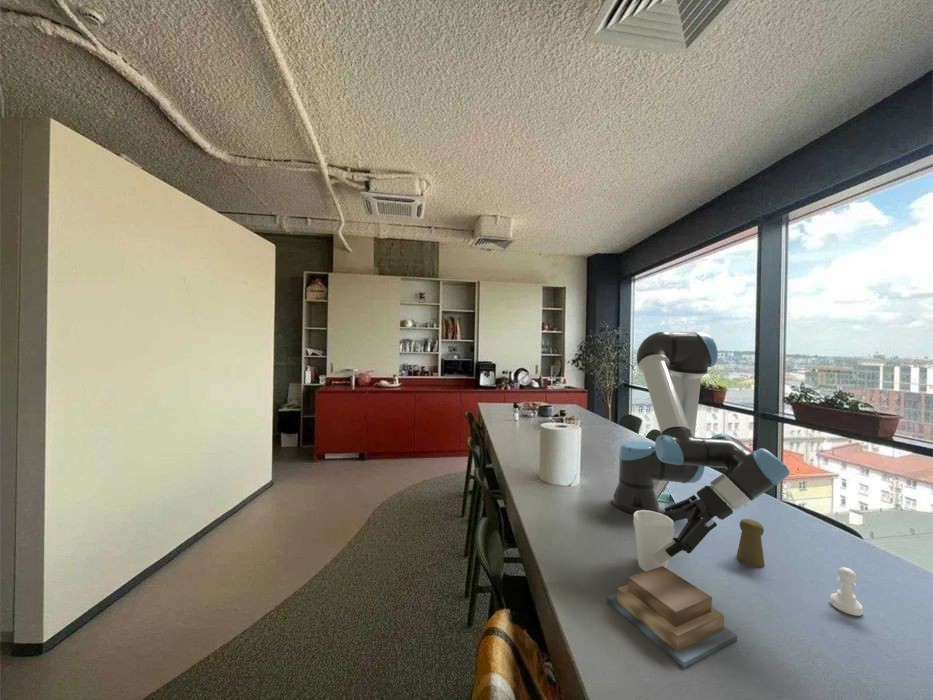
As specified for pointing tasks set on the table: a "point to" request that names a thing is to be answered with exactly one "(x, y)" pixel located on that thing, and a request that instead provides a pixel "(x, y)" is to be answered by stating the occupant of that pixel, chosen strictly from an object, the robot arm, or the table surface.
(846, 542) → the table surface
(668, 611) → the stepped wooden pedestal
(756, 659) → the table surface
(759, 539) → the cork
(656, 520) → the foam cup
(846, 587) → the chess pawn
